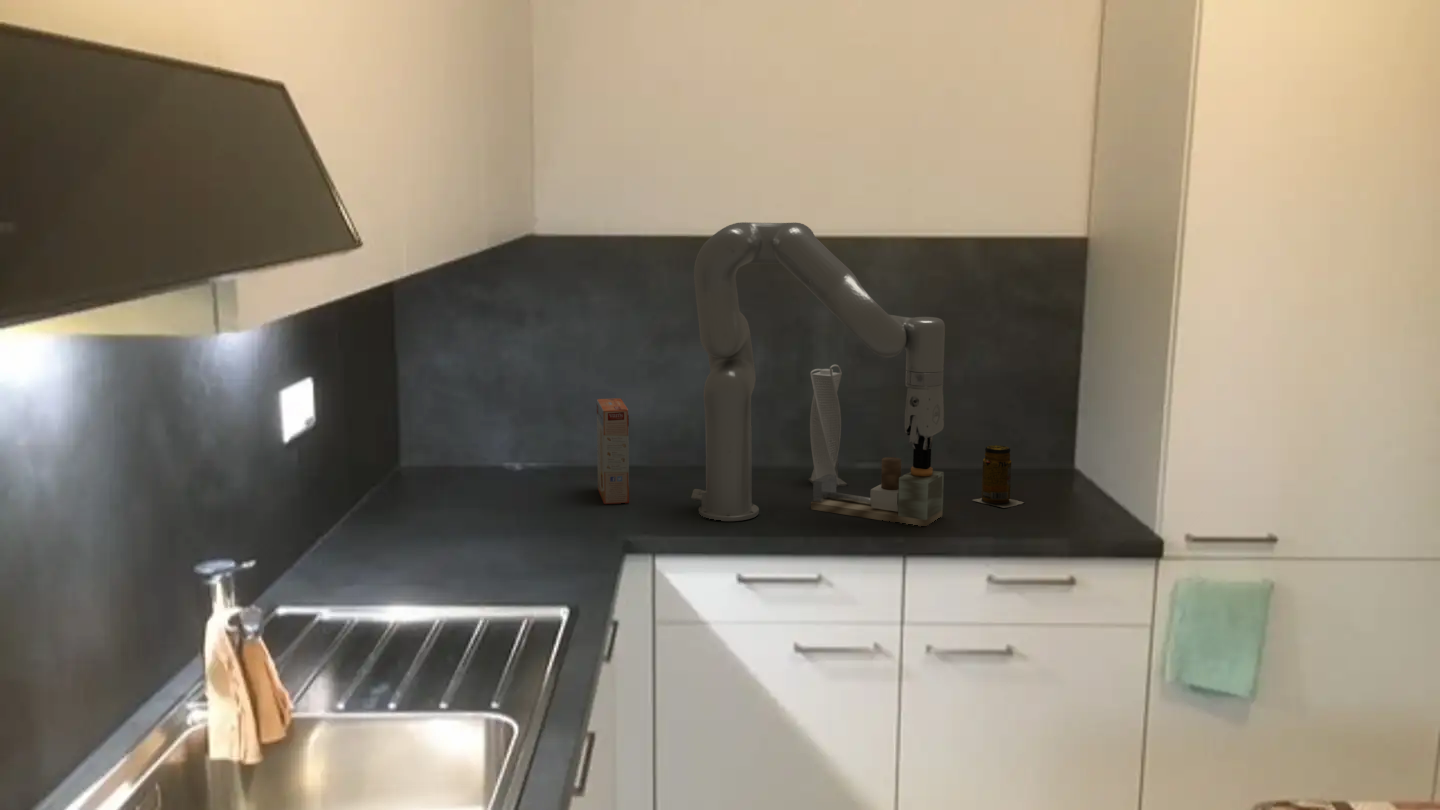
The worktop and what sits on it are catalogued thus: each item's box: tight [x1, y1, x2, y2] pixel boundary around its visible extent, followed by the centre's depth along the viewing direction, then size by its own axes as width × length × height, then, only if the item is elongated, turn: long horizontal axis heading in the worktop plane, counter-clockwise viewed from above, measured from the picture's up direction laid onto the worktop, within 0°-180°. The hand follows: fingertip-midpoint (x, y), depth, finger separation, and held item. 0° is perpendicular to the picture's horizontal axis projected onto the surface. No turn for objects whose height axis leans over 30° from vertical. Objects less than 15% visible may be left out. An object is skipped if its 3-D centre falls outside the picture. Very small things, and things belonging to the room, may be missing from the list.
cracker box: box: [596, 397, 630, 505], centre depth 279 cm, size 14×6×21 cm, turn 11°
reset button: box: [910, 465, 934, 477], centre depth 260 cm, size 4×4×3 cm
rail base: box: [810, 470, 945, 527], centre depth 266 cm, size 26×9×10 cm, turn 58°
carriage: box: [870, 456, 902, 512], centre depth 264 cm, size 6×7×10 cm
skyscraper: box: [807, 364, 848, 487], centre depth 288 cm, size 8×8×28 cm
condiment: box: [972, 444, 1025, 508], centre depth 274 cm, size 7×8×12 cm
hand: (921, 467), depth 260 cm, fingers closed
